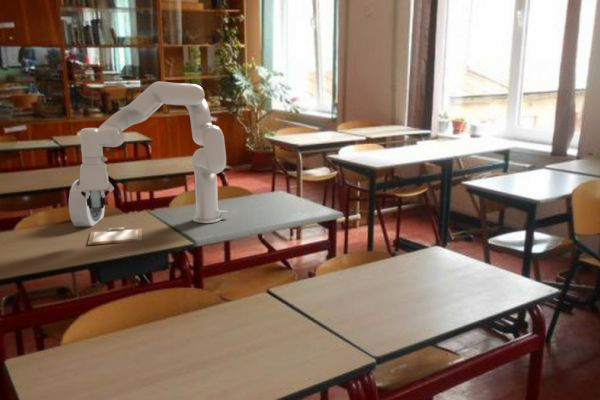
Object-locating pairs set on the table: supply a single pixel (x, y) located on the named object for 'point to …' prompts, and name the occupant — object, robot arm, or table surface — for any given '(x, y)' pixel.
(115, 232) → the clipboard
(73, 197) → the alarm clock
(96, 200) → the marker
